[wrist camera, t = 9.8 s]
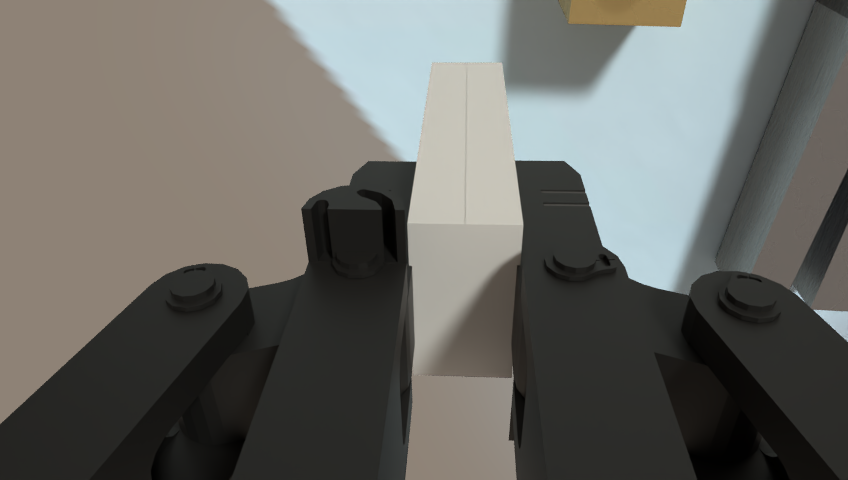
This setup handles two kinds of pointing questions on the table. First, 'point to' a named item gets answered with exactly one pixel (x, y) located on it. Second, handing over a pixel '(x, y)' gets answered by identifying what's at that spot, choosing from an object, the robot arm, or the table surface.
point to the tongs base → (828, 259)
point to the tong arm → (796, 157)
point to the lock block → (624, 12)
